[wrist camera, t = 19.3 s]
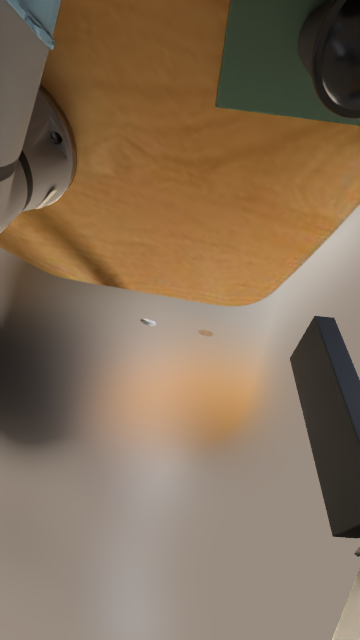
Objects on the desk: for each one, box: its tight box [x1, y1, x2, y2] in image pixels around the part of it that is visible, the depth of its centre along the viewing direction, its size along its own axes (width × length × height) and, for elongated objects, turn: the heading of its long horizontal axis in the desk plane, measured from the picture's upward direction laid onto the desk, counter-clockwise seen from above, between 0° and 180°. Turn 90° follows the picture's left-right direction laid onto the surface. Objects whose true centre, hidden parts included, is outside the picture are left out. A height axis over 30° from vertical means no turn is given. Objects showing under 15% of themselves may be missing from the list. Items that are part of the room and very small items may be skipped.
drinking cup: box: [298, 0, 360, 119], centre depth 22 cm, size 8×8×20 cm
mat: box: [216, 0, 360, 126], centre depth 29 cm, size 13×18×1 cm
